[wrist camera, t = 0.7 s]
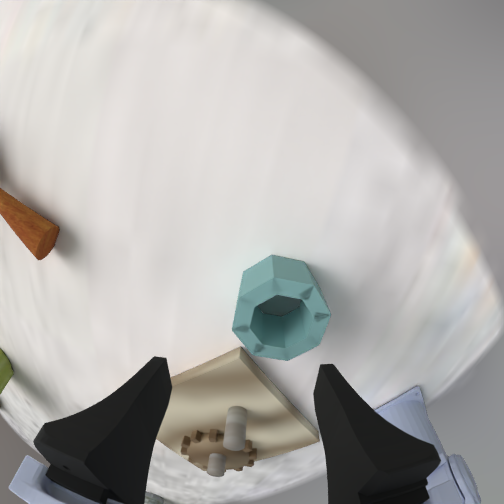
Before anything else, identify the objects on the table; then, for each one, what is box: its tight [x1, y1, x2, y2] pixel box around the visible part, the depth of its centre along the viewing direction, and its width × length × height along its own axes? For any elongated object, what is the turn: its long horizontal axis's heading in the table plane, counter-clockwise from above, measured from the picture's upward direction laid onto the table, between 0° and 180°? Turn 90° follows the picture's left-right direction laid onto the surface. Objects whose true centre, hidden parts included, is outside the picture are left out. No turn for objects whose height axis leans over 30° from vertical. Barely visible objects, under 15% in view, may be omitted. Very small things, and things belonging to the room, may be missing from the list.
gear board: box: [156, 347, 320, 477], centre depth 22 cm, size 15×16×6 cm
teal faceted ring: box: [232, 255, 331, 361], centre depth 18 cm, size 6×6×4 cm
